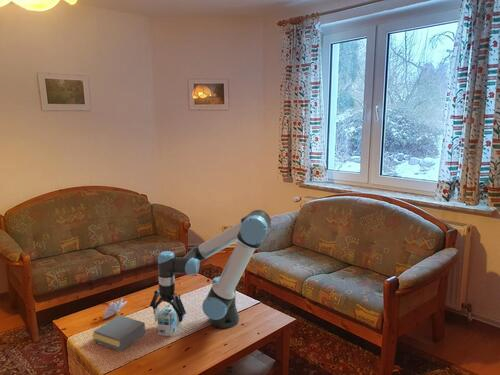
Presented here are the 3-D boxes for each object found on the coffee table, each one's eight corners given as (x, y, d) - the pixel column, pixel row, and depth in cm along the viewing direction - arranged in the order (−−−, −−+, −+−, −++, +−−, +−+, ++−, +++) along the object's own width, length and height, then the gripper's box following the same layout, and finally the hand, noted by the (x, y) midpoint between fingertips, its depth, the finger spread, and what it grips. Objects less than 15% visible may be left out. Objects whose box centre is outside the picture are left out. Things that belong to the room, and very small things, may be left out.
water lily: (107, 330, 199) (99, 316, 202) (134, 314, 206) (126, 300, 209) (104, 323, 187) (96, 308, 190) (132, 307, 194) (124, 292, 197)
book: (145, 333, 183) (144, 322, 182) (118, 353, 169) (117, 340, 167) (120, 326, 191) (119, 315, 190) (93, 343, 176) (92, 331, 175)
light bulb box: (170, 336, 181) (170, 316, 179) (157, 335, 182) (156, 314, 181) (179, 325, 191) (178, 305, 190) (166, 323, 193) (166, 304, 191)
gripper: (141, 281, 185) (143, 321, 189) (183, 291, 174) (184, 334, 178) (151, 275, 191) (153, 314, 195) (192, 285, 180) (193, 326, 184)
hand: (168, 323), depth 186 cm, fingers open, 13 cm apart
